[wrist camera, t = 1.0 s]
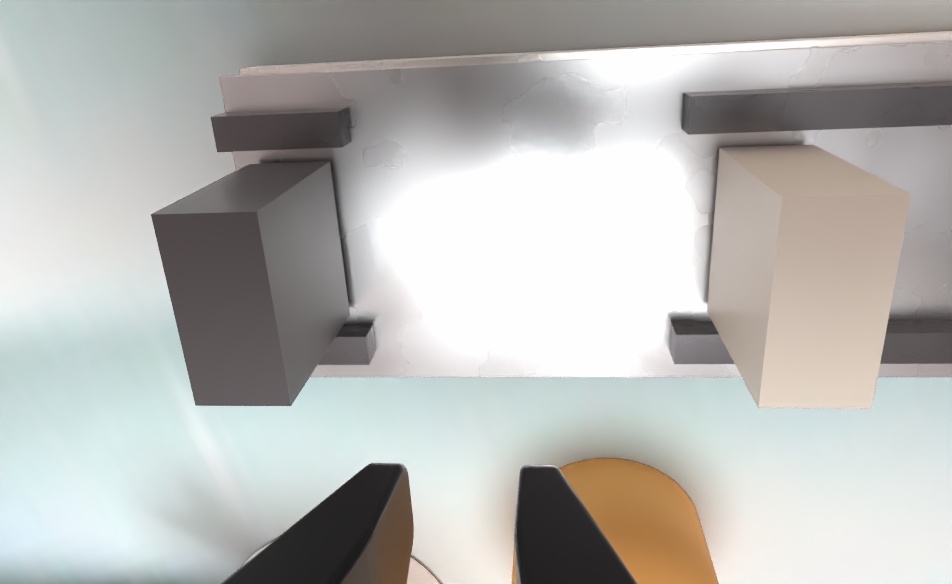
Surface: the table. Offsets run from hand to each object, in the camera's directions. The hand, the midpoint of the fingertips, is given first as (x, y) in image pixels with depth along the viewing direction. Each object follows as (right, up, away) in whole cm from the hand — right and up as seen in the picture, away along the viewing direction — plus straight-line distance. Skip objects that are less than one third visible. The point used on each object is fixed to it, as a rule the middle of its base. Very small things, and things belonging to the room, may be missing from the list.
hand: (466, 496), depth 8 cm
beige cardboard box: (+7, +4, +9) cm, 12 cm away
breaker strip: (+3, +5, +11) cm, 12 cm away
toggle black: (-4, +4, +10) cm, 11 cm away
